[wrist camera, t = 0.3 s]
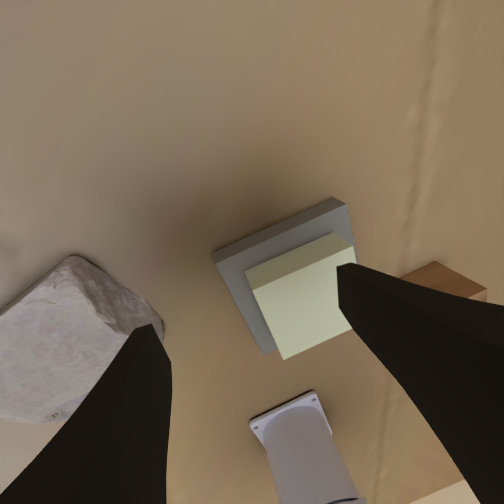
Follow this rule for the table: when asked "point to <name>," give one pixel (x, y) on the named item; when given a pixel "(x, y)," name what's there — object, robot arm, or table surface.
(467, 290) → the walnut cube
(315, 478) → the robot arm
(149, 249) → the table surface
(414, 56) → the table surface
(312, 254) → the sage block
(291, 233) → the grey square slab
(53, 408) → the stone block
